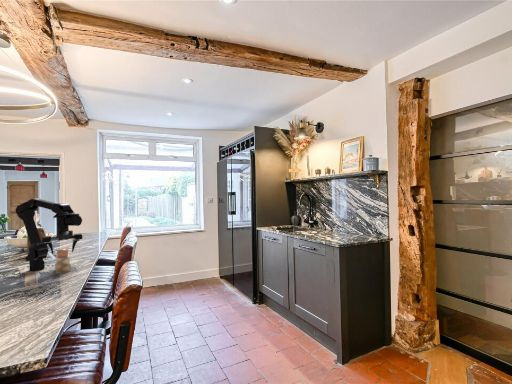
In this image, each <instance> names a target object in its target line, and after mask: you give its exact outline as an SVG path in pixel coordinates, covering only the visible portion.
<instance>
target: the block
mask: <svg viewBox="0 0 512 384" xmlns="http://www.w3.org/2000/svg"><path fill="white" fill-rule="evenodd" d="M37 230H38V233H39V236H40V239H41V241H42V237H43V236H46V233H45V229H44V228H43V227H37ZM26 234H27V233H26ZM26 240H27V241H26V248H27V249H26V250H27V255H28V254H29V248H30V245H31V243H30V240H29V237H28V234H27V236H26Z"/></svg>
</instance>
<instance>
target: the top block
mask: <svg viewBox="0 0 512 384" xmlns="http://www.w3.org/2000/svg"><path fill="white" fill-rule="evenodd" d="M55 261H56V262H55V263H56V264H57V265H65V264H70V263H71V256H70V255H69V254H68V257H62V258H58V257H57V255H56V256H55Z"/></svg>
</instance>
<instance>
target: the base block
mask: <svg viewBox="0 0 512 384" xmlns="http://www.w3.org/2000/svg"><path fill="white" fill-rule="evenodd" d="M71 267H72V263H71V262H70V264H65V265H57V264H56V262H55V264H54V269H55V272H56V273H60V272H67V271H71Z"/></svg>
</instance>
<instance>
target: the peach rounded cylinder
mask: <svg viewBox="0 0 512 384" xmlns="http://www.w3.org/2000/svg"><path fill="white" fill-rule="evenodd" d="M56 251H57V252H56V256H57V257H58V258H62V257H68V255H69V248H60V249H57V250H56Z"/></svg>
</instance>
